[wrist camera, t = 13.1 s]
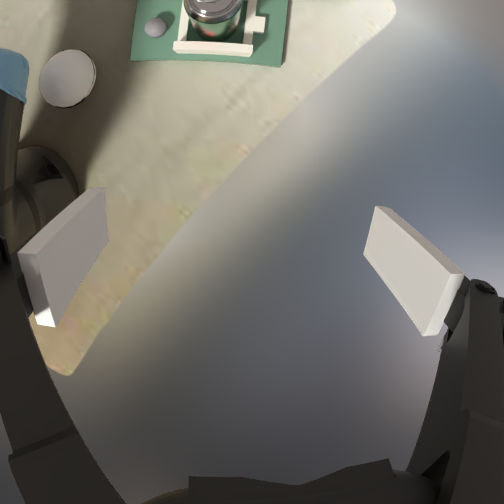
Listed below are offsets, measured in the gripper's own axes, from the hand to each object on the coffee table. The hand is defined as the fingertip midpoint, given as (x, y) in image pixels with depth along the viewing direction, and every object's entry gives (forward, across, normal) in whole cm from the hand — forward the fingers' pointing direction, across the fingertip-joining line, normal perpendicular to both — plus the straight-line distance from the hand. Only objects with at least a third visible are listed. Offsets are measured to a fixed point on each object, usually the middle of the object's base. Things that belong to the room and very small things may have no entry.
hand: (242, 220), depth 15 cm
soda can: (+26, -3, +15) cm, 30 cm away
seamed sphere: (+27, -19, +8) cm, 34 cm away
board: (+27, -4, +19) cm, 33 cm away
